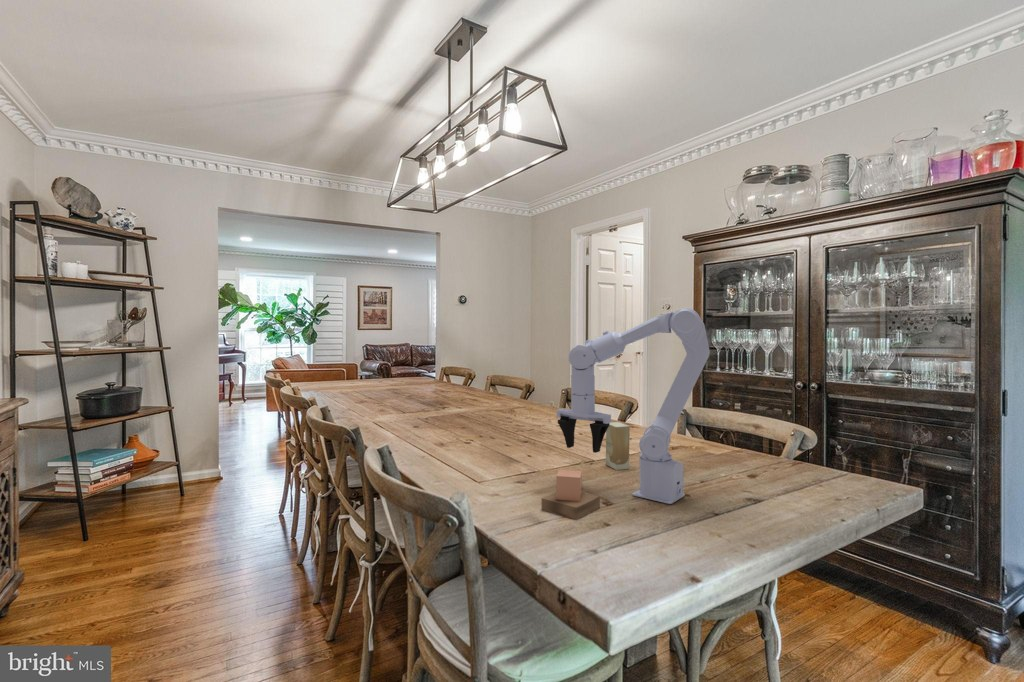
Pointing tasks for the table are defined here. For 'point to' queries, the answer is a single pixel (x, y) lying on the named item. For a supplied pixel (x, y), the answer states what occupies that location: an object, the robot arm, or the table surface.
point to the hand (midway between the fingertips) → (583, 449)
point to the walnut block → (571, 505)
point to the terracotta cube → (568, 485)
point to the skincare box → (617, 446)
